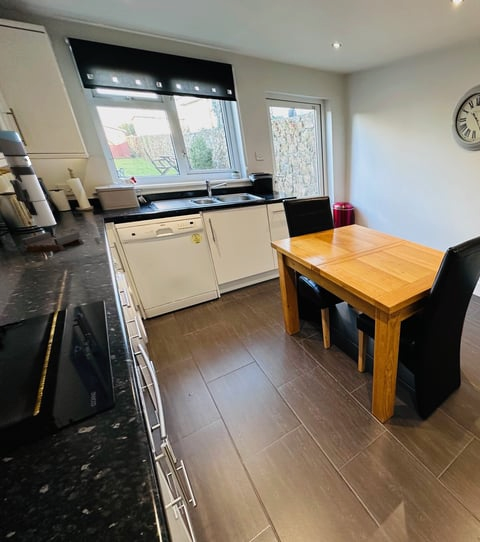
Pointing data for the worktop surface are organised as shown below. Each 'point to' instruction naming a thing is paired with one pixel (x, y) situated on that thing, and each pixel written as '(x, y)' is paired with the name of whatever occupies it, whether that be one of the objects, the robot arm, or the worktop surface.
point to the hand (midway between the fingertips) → (41, 213)
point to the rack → (51, 242)
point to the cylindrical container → (37, 200)
